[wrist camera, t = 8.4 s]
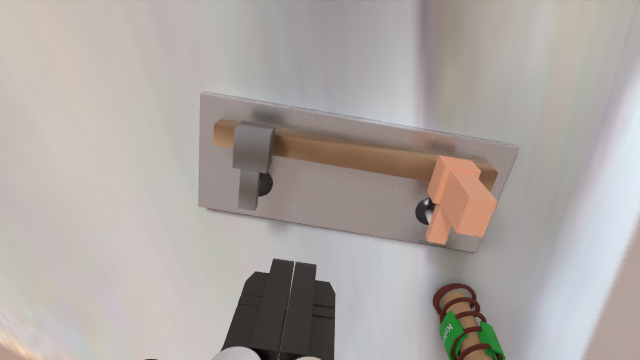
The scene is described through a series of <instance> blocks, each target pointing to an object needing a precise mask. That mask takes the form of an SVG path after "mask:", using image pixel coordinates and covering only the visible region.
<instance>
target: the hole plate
mask: <svg viewBox="0 0 640 360" xmlns="http://www.w3.org/2000/svg"><path fill="white" fill-rule="evenodd" d="M220 119H226V120H232V121H238V122H241V121H248V122H254V123H259V124H265V125H271V126H275V128H279V129H285V130H291V131H296V132H302V133H308V134H314V135H320V136H326V137H332V138H338V139H343V140H349V141H355V142H361V143H367V144H373V145H379V146H385V147H391V148H396V149H402V150H408V151H414V152H420V153H426V154H432V155H442V156H447V157H453V158H459V159H465V160H471V161H473V162H479V163H485V164H490V165H491V166H492V167H493V168H494V169H495V170H496V171H497V172H498V175H497V178H496V180H495V183H494V185H493V188H492V190H491V192H490V193H491V195H492V196H493V197H494V198H495V199H496V201H497V200H498V198H499V195H500V193H501V190H502V188H503V185H504V183H505V181H506V178H507V176H508V173H509V171H510V169H511V166H512V164H513V161H514V159H515V157H516V154H517V152H518V149H519V148H518V147H516V146H515V145H514V144H509V143H503V142H497V141H491V140H486V139H480V138H474V137H468V136H462V135H456V134H450V133H445V132H439V131H433V130H427V129H421V128H415V127H409V126H404V125H398V124H392V123H386V122H380V121H374V120H368V119H363V118H357V117H351V116H345V115H339V114H333V113H327V112H322V111H316V110H310V109H304V108H298V107H292V106H286V105H281V104H275V103H269V102H263V101H257V100H251V99H246V98H240V97H234V96H228V95H222V94H216V93H210V92H203V93H201V94H200V138H199V200H198V206H199V207H205V208H211V209H217V210H223V211H229V212H235V213H241V214H247V215H253V216H259V217H265V218H271V219H277V220H283V221H289V222H295V223H301V224H307V225H313V226H319V227H325V228H331V229H337V230H343V231H348V232H354V233H360V234H366V235H372V236H378V237H384V238H390V239H396V240H402V241H408V242H414V243H420V244H426V245H432V246H438V247H444V248H450V249H456V250H462V251H468V252H474V253H476V250H477V248H478V246H479V243H480V241H481V238H482V237H478V236H472V235H466V234H460V233H456V231H455V229H454V228H453V226H452V227H451V229H450V232H449V235H448V238H447V240H446V243H445V245H444V244H438V243H432V242H428V241H427V238H426V233H427V230H428V227H429V223H428V220H427V218H426V215H425V211H426V210H428V209H430V210H432V211H433V212H434V209H435V206H436V204H435V203H433V202H432V200H431V198H430V196H429V194H428V192H427V190H428V187H429V184H430V182H427V181H421V180H415V179H409V178H403V177H398V176H392V175H386V174H380V173H374V172H368V171H362V170H356V169H350V168H344V167H338V166H332V165H327V164H321V163H315V162H309V161H303V160H297V159H291V158H285V157H279V156H273V155H272V163H271V165H270V167H269V169H268V171H267V173H261V174H260V181H261V185H260V187H259V195H258V205H257V208H256V210H255V211H251V210H245V209H239V208H238V199H239V184H240V170H241V169H236V168H232V165H233V149H232V148H226V147H220V146H214V145H213V136H214V124H215V123H216V122H217V121H219V120H220Z"/></svg>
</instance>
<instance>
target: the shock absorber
mask: <svg viewBox="0 0 640 360" xmlns="http://www.w3.org/2000/svg"><path fill="white" fill-rule="evenodd" d="M433 305H434V307H435V309H436V310H437V312H438V314H439V315H440V323H441V327H440V335H441V338H442V340H443V343H444V346H445V349H446V351H447V354H448V357H449V360H505V356H504V354H503V351H502V349H501V347H500V344H499V342H498V339H497V337H496V335H495V332H494V330H493V328H492V326H490V325H489V324H487V322H486V319H485V317H484V316H483V315H482V314H481V313H479V312H480V306H479V304H478V302H477V301H476V295H475V292H474V291H473V290H472V289H471V288H470V287H468V286H467V285H464V284H457V283H454V284H449V285H446V286H443V287H442V288H440V289H439V290H438V291H437V292H436V293H435V295H434V298H433ZM474 305H475V311H471V309H472V308H473V307H474ZM475 317H479V318H480V319H481V322H480V325H481V326H478V324H477V322H476V320H475Z"/></svg>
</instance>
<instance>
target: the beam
mask: <svg viewBox="0 0 640 360" xmlns="http://www.w3.org/2000/svg"><path fill="white" fill-rule="evenodd" d="M213 145H214V146H220V147H226V148H232V149H233V165H232V168H236V169H241V170H240V184H239V199H238V208H239V209H245V210H251V211H255V210H256V208H257V205H258V195H259V187H260V185H261V181H260V174H261V173H267V171H268V169H269V167H270V165H271V163H272V155H273V156H279V157H285V158H291V159H297V160H303V161H309V162H315V163H321V164H327V165H332V166H338V167H344V168H350V169H356V170H362V171H368V172H374V173H380V174H386V175H392V176H398V177H403V178H409V179H415V180H421V181H427V182H430V180H431V177H432V174H433V171H434V168H435V165H436V162H437V158H438V155H432V154H426V153H420V152H414V151H408V150H402V149H396V148H391V147H385V146H379V145H373V144H367V143H361V142H355V141H349V140H343V139H338V138H332V137H326V136H320V135H314V134H308V133H302V132H296V131H291V130H285V129H279V128H275V126H271V125H265V124H259V123H254V122H248V121H241V122H238V121H232V120H226V119H220V120H219V121H217V122H216V123H215V124H214V136H213ZM473 163H474V164H475V165H476V166H477V167H478V168H479V169H480V170H481V173H480V176H479V180H480V181H481V182H482V184H483V185H484V186H485V187H486V189H487V190H488V191H489V192H491V190H492V188H493V185H494V183H495V180H496V178H497V175H498V172H497V171H496V170H495V169H494V168H493V167H492V166H491V165H490V164H485V163H479V162H473Z"/></svg>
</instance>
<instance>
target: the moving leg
mask: <svg viewBox="0 0 640 360" xmlns="http://www.w3.org/2000/svg"><path fill="white" fill-rule="evenodd" d="M480 173H481V170H480V169H479V168H478V167H477V166H476V165H475V164H474V163H473V161H471V160H465V159H459V158H453V157H447V156H442V155H438V158H437V162H436V165H435V168H434V171H433V174H432V177H431V180H430V184H429V187H428V190H427V192H428V194H429V196H430V198H431V200H432V202H433V203H435V204H436V206H435V209H434V212H433V211H432V210H430V209H428V210H426V211H425V215H426V218H427V220H428V223H429V227H428V230H427V233H426V238H427V241H428V242H432V243H438V244H444V245H445V243H446V240H447V238H448V235H449V232H450V229H451V227H452V226H453V228H454V229H455V231H456V233H460V234H466V235H472V236H478V237H483V236H484V233H485V231H486V229H487V226H488V224H489V221H490V219H491V217H492V214H493V212H494V209H495V207H496V205H497V201H496V199H495V198H494V197H493V196H492V195H491V193H490V192H489V191H488V190H487V189H486V187H485V186H484V185H483V184H482V182H481V181H480V180H479V176H480Z"/></svg>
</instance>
